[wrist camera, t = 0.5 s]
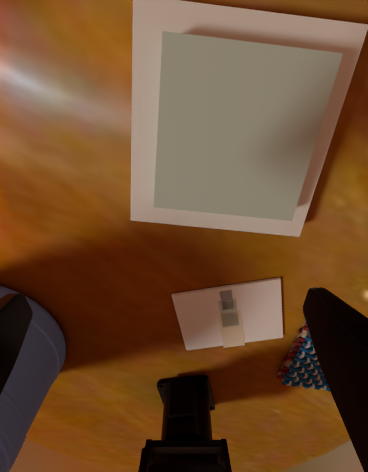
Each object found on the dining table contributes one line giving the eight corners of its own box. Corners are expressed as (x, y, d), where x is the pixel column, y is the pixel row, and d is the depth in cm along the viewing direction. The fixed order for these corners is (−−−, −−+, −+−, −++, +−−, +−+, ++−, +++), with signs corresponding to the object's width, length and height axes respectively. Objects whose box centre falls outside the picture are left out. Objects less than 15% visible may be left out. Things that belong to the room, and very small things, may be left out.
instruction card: (282, 337, 28) (283, 339, 28) (186, 350, 29) (186, 352, 29) (279, 277, 25) (280, 279, 25) (171, 293, 26) (171, 296, 26)
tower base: (290, 227, 23) (310, 248, 19) (135, 211, 22) (124, 230, 18) (349, 34, 17) (394, 11, 13) (139, 8, 16) (125, -24, 13)
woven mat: (303, 309, 27) (311, 322, 25) (392, 323, 28) (407, 338, 26) (271, 372, 32) (276, 388, 30) (349, 383, 32) (359, 399, 31)
